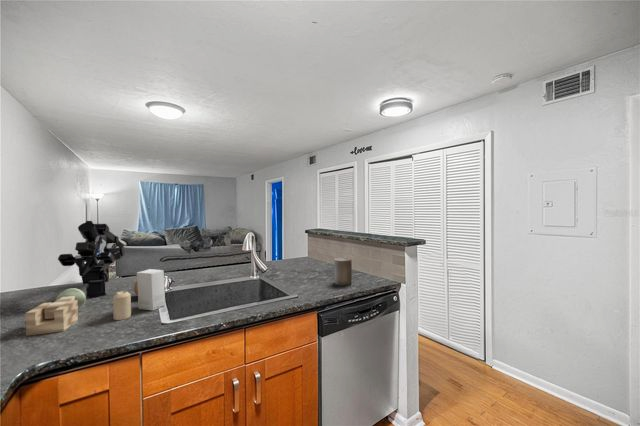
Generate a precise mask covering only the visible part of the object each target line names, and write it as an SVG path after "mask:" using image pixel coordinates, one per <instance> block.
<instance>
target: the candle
mask: <svg viewBox="0 0 640 426" xmlns="http://www.w3.org/2000/svg"><path fill="white" fill-rule="evenodd" d="M131 297H132V294H131V293H130V292H128V291H127V290H121V291H117V292H116V293H115V294H114V295H113V297H112V306H113V310H112V311H113V314H112V315H113V320H114V321H122V320H126V319H129V318H130V317H131V316H132V301H131V299H132V298H131Z"/></svg>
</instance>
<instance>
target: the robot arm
mask: <svg viewBox="0 0 640 426" xmlns="http://www.w3.org/2000/svg"><path fill="white" fill-rule="evenodd" d="M77 231H78V232H79V233H80V235H81V236H82V238H83V240H84V239H85V241H83V242H78V241H77V242H76V243H75V249H74V250H75V251H76V252H77V254H76V255H75V256H74V254H72V253H61V254H59V256H58V257H57V260H58V262H59V264H60V265H61V266H63V267H71V266H73V265H76V266H77V267H78V274H79V277H81V280H82V284H83V285H86V286H85V295H86V297H87V298H88V299H91V298H97V297H102V296H107V293H106V283H108V282H109V279H110V275H109V273H108V272H107V269H109V268H110V266H111V265H112V264H113V263H114V262H115V261H116V260H117V261H118V260H120V259H123V257H124V256H125V251H126V250H125V245H124V244H123V243H122V242H121V241H120V237H119V236H117V235H115V233H113V232H111V231H110V227H109V226H108V224H107V223H93V221H92V220H86V221H85V222H83V223H81V224H80V225H78V226H77ZM103 241H104V242H105V246H104V248H103V252H100V247H101V244H104V242H103ZM109 244H115V245H116V246H117V247H108V245H109ZM98 254H99V255H98Z"/></svg>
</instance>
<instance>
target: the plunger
mask: <svg viewBox="0 0 640 426" xmlns="http://www.w3.org/2000/svg"><path fill="white" fill-rule="evenodd" d="M71 300H78V310H80V309H82V308H83V306H84V305H85V304H86V302H87V301H86V300H87V296H86V292H84V291H83V290H81V289H79V288H76V287H75V288H74V287H71V288H66V289H65V290H63V291H61V292H60V293H59V294H58V295H57V296H56V297H55V301H54V302H52V304H50V305H48V306H47V307H45V308H44V315H45V319H51V318H54V310H56V309H57V308H59V307H60V306H62V305H63V304H65V303H66V302H68V301H71Z"/></svg>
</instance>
